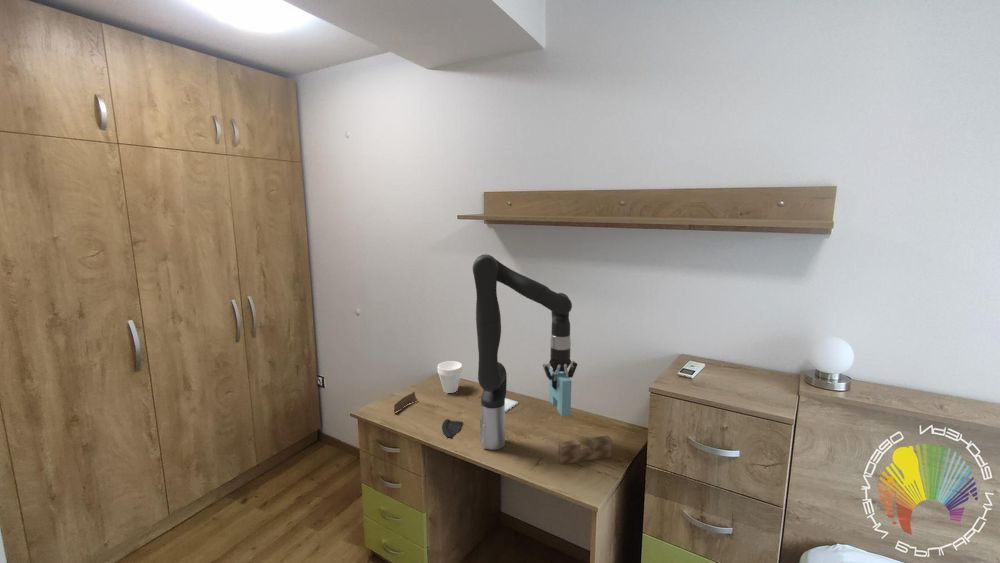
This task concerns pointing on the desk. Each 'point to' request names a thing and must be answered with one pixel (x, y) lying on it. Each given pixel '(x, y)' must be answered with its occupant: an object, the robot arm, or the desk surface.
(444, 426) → the curved wedge
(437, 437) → the desk surface
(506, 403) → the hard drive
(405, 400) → the brown curved strip
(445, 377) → the cup
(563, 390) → the teal notched plate
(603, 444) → the walnut slotted board
